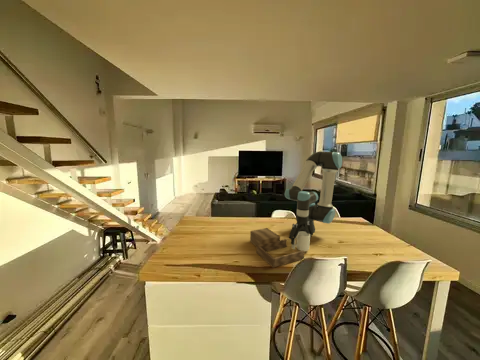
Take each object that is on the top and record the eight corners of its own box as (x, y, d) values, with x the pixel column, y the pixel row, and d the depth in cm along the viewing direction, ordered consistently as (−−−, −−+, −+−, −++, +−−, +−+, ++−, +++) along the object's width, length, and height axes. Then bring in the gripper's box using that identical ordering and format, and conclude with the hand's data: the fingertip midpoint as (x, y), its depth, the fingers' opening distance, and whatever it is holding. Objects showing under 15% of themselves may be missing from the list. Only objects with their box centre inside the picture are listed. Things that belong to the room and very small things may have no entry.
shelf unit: (272, 236, 164) (272, 226, 163) (304, 258, 134) (304, 246, 132) (245, 242, 154) (245, 231, 153) (272, 267, 124) (273, 254, 122)
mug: (293, 251, 139) (294, 236, 137) (289, 245, 147) (290, 231, 145) (311, 251, 140) (312, 236, 139) (306, 245, 148) (307, 231, 147)
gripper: (311, 211, 148) (309, 241, 152) (284, 216, 138) (282, 247, 142) (320, 214, 142) (317, 245, 146) (291, 219, 131) (289, 253, 135)
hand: (300, 246), depth 144 cm, fingers closed on mug, 11 cm apart
